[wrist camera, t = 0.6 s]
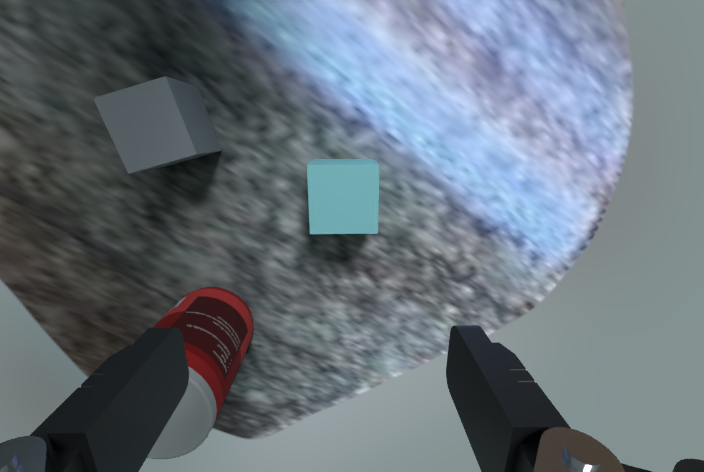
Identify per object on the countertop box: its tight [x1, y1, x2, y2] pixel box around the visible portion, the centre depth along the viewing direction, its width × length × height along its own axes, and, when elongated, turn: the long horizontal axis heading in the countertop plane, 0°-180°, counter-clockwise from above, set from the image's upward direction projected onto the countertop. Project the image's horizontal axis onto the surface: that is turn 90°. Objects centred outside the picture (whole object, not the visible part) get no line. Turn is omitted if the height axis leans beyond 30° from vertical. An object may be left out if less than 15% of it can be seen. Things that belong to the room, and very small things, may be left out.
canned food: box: [147, 287, 253, 459], centre depth 27 cm, size 8×8×11 cm
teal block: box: [307, 159, 379, 234], centre depth 26 cm, size 5×5×5 cm
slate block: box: [93, 76, 222, 174], centre depth 24 cm, size 5×5×5 cm
